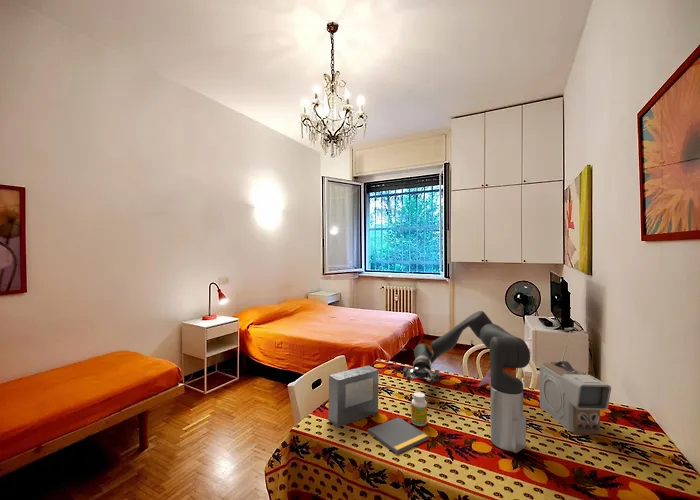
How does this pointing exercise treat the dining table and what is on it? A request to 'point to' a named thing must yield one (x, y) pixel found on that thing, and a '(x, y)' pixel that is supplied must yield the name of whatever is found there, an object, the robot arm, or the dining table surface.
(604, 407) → the portable television
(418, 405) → the supplement bottle
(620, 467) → the dining table surface
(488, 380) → the lily
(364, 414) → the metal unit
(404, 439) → the mat
